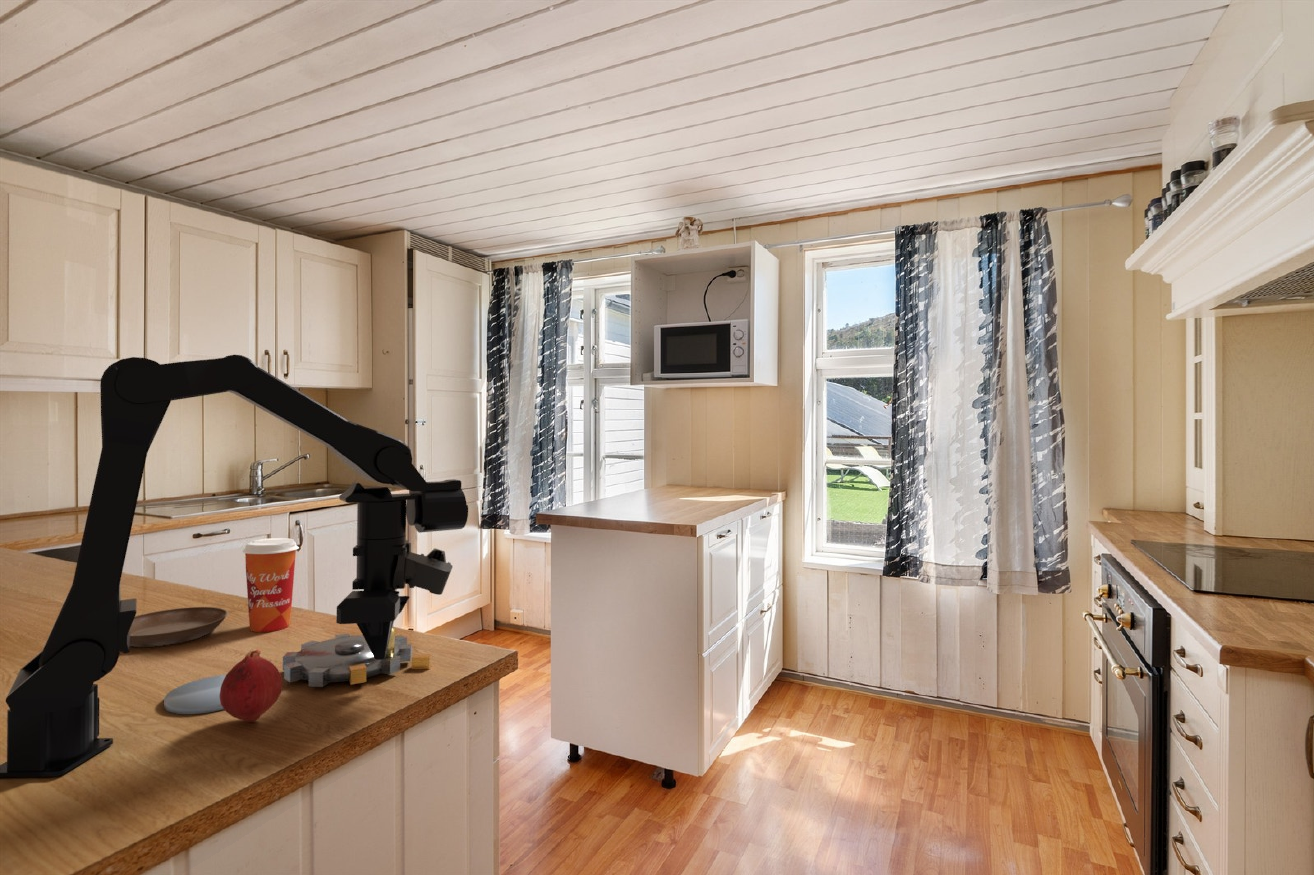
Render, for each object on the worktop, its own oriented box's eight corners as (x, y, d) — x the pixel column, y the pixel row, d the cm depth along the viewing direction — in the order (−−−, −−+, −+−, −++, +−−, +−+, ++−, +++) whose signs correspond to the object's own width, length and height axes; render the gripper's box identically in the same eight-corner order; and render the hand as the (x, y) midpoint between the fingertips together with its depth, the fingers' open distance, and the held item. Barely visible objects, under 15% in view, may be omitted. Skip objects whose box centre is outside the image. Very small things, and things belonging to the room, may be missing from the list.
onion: (251, 737, 67) (252, 661, 67) (205, 731, 68) (206, 657, 68) (293, 713, 73) (294, 643, 73) (250, 708, 74) (251, 639, 74)
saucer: (81, 647, 93) (81, 629, 93) (178, 619, 108) (178, 603, 108) (160, 658, 90) (160, 638, 90) (249, 627, 104) (250, 610, 104)
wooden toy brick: (421, 679, 83) (421, 666, 83) (304, 679, 83) (304, 667, 83) (439, 657, 91) (439, 646, 91) (332, 657, 91) (332, 646, 91)
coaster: (234, 713, 72) (234, 706, 72) (142, 714, 72) (142, 707, 72) (280, 679, 82) (280, 673, 82) (200, 679, 82) (200, 673, 82)
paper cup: (234, 636, 99) (235, 546, 99) (251, 621, 106) (252, 538, 106) (290, 632, 101) (291, 544, 101) (303, 618, 108) (304, 536, 108)
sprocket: (387, 686, 79) (388, 643, 79) (256, 687, 78) (256, 643, 78) (426, 643, 95) (426, 607, 95) (317, 644, 94) (318, 607, 94)
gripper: (441, 548, 73) (439, 682, 74) (454, 524, 91) (452, 632, 92) (335, 550, 71) (334, 690, 71) (371, 525, 89) (369, 636, 89)
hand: (380, 658), depth 81 cm, fingers closed
